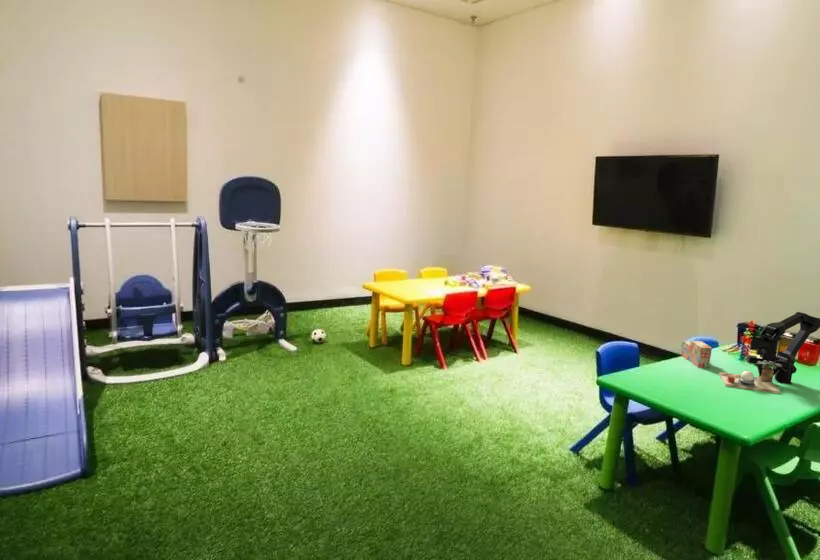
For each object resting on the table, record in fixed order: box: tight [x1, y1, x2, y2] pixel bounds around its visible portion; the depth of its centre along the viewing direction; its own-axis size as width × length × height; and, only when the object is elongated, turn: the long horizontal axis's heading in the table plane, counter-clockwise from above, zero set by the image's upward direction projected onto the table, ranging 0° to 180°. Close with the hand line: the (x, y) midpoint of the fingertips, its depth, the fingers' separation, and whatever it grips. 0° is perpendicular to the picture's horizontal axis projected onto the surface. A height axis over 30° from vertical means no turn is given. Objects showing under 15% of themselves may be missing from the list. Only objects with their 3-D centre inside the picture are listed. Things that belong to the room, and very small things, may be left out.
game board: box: [718, 371, 781, 395], centre depth 282 cm, size 24×18×4 cm
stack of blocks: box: [680, 340, 713, 369], centre depth 315 cm, size 21×6×12 cm, turn 179°
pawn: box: [758, 363, 774, 382], centre depth 284 cm, size 5×5×8 cm
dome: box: [739, 370, 755, 384], centre depth 277 cm, size 7×7×6 cm
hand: (765, 376), depth 284 cm, fingers closed on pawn, 5 cm apart
